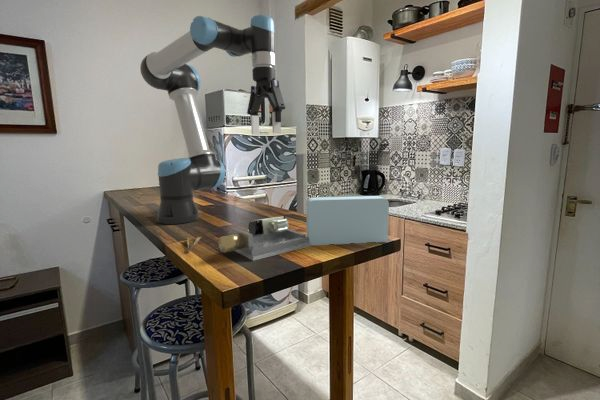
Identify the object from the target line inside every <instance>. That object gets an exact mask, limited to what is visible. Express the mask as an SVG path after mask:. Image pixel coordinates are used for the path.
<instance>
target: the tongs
mask: <svg viewBox="0 0 600 400" xmlns="http://www.w3.org/2000/svg"><path fill="white" fill-rule="evenodd" d="M201 238H202V236H196V238H195V240H194V242H193V243H192V244H191V245H190V241H191V240H192V239H193V236H191V237H187V238H186V240H187V241H186V243H187V247H186V248H187V249H186V254H187V255H188V254H189V253H190V251H191V250H192V248H193V247H194V246H195V245H197V244H198V242H199V241H201Z"/></svg>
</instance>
